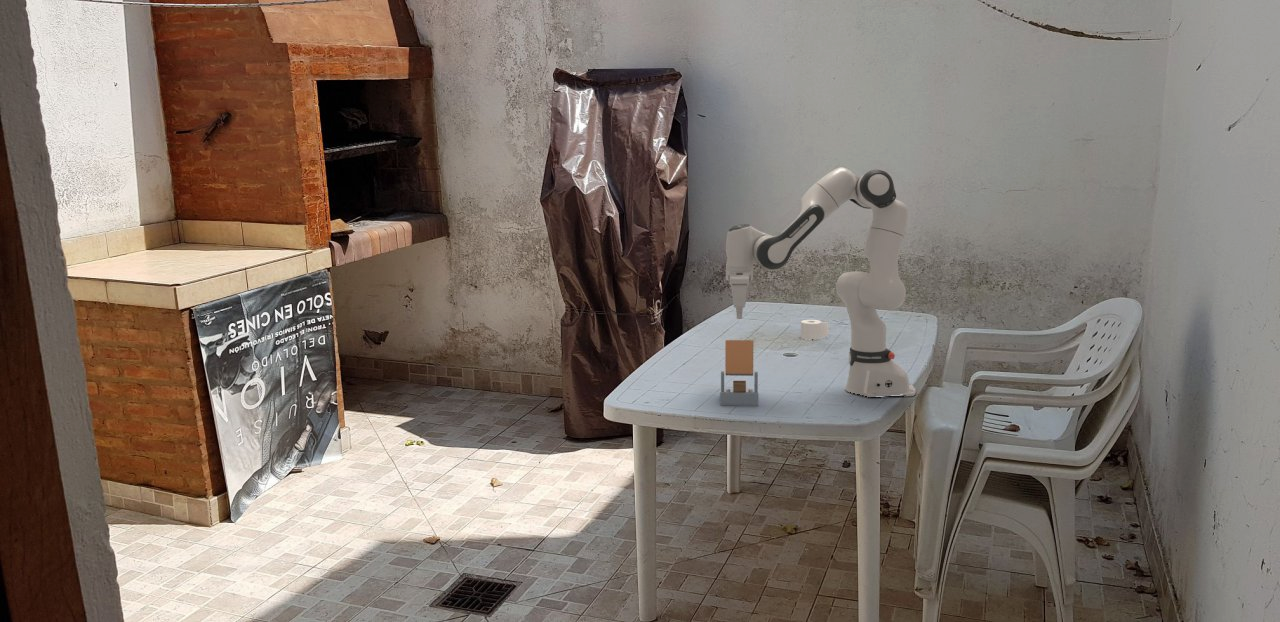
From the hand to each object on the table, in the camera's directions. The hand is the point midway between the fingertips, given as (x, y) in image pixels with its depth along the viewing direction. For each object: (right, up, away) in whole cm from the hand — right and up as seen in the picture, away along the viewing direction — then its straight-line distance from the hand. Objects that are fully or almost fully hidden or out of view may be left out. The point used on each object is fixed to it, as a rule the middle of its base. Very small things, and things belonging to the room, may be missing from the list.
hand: (739, 316), depth 322 cm
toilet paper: (+39, -10, +78) cm, 88 cm away
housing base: (-1, -27, -8) cm, 28 cm away
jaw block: (-1, -26, -9) cm, 28 cm away
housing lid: (-1, -14, -5) cm, 14 cm away
